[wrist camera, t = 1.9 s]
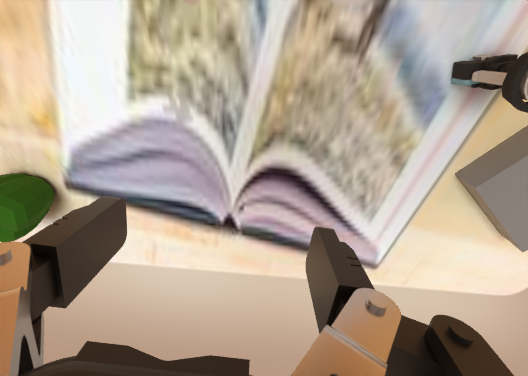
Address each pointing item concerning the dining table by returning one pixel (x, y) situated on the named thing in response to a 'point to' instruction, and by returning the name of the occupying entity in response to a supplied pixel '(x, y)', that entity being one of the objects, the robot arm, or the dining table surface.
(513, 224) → the slate stand
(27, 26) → the dining table surface
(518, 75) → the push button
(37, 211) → the bell pepper
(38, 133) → the dining table surface
